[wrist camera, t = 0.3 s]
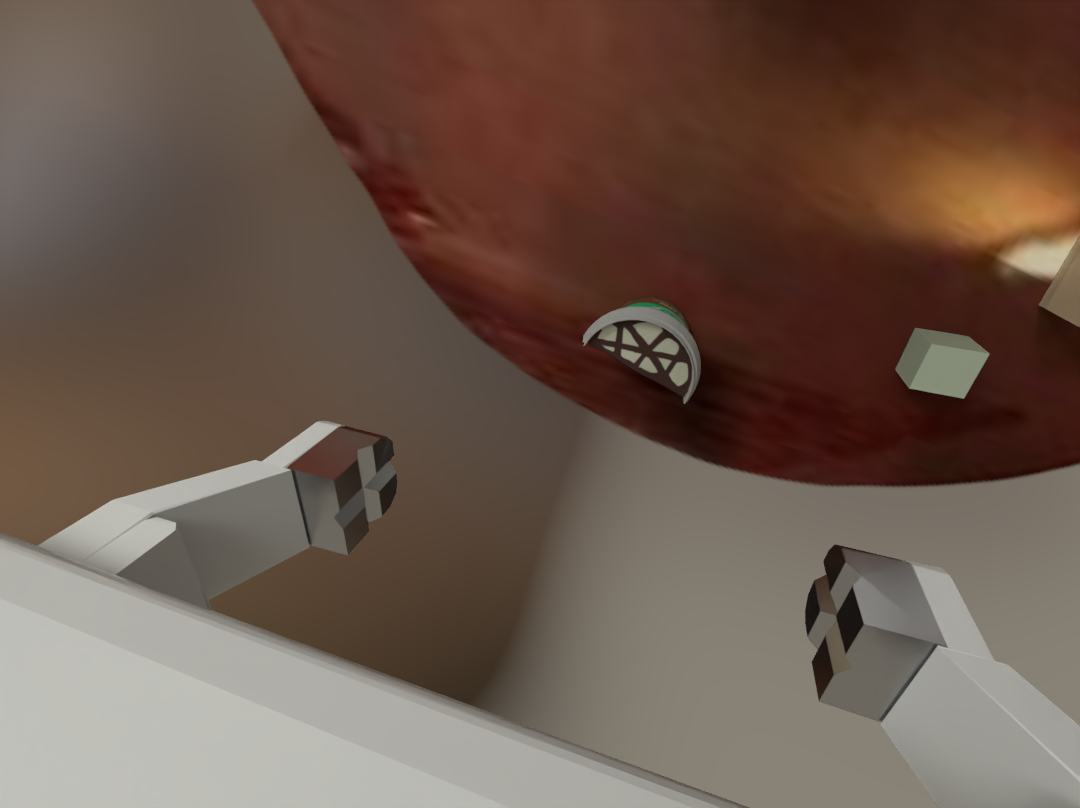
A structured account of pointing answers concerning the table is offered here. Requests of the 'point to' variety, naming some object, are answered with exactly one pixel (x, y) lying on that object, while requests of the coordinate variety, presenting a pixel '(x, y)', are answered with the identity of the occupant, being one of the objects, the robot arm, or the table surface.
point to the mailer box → (1066, 289)
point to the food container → (650, 342)
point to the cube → (941, 362)
